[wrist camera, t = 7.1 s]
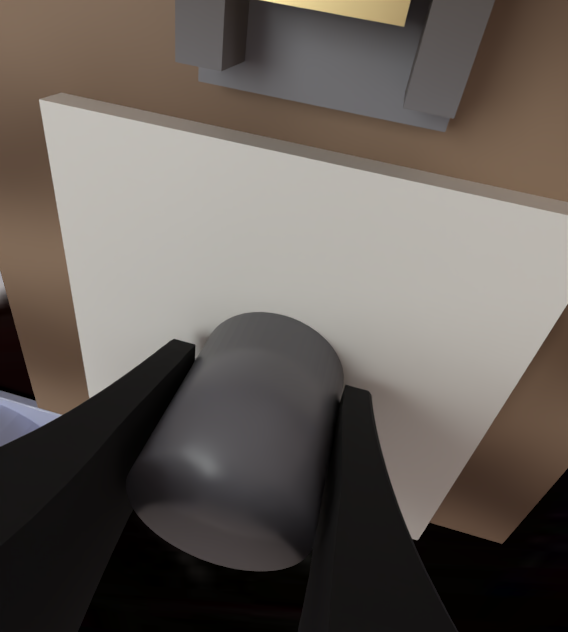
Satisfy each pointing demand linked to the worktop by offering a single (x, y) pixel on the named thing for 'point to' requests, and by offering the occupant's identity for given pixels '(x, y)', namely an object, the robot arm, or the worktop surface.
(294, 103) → the board
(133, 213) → the cover
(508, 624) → the worktop surface
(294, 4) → the notched brass block
